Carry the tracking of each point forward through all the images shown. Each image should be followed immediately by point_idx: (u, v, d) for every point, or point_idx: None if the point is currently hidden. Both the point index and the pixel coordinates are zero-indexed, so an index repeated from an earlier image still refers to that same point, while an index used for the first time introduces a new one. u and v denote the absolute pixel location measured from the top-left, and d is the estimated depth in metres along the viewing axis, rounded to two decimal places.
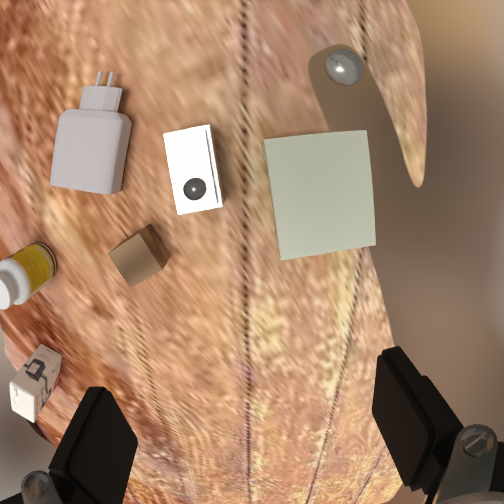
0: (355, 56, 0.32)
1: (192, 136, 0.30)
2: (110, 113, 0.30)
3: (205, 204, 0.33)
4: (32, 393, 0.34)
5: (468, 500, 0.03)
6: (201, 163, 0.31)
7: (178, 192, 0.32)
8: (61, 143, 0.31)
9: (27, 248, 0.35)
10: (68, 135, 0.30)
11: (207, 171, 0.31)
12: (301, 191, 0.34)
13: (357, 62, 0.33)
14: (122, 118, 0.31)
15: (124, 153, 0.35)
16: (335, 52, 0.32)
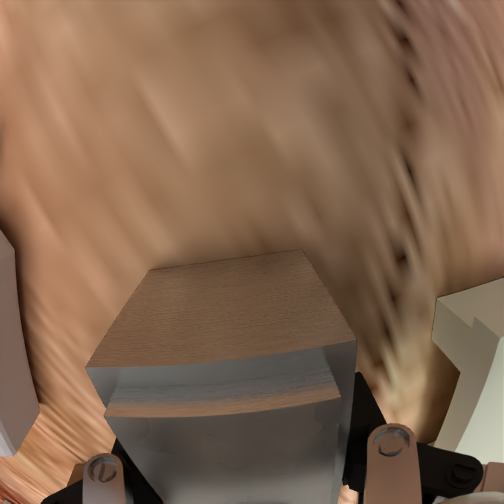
0: None
1: (259, 430, 0.05)
2: None
3: None
4: None
5: (468, 500, 0.03)
6: (294, 497, 0.05)
7: None
8: None
9: None
10: None
11: None
12: None
13: None
14: None
15: (13, 348, 0.09)
16: None
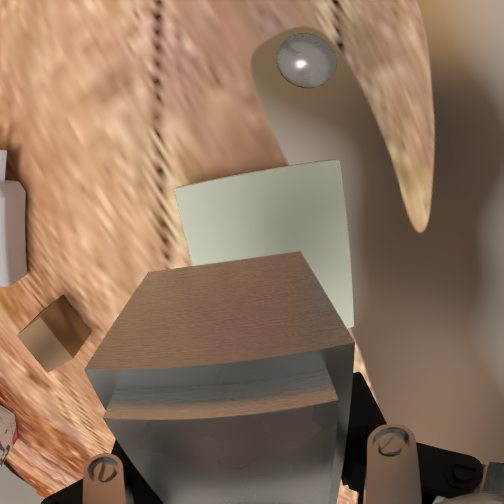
0: (323, 42, 0.21)
1: (257, 432, 0.05)
2: None
3: None
4: None
5: (468, 500, 0.03)
6: (293, 498, 0.05)
7: None
8: None
9: None
10: None
11: None
12: None
13: (326, 51, 0.22)
14: (5, 193, 0.21)
15: (20, 232, 0.24)
16: (291, 39, 0.21)
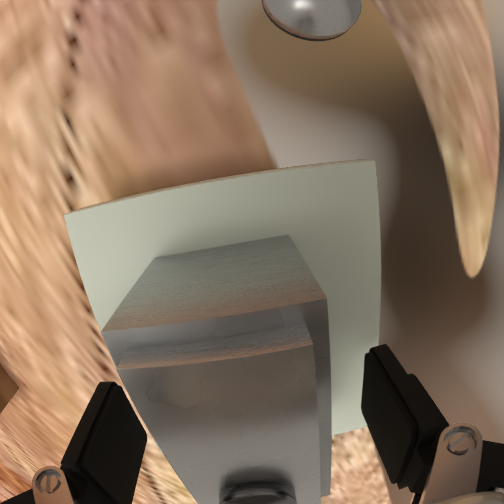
0: None
1: (247, 376, 0.06)
2: None
3: None
4: None
5: (468, 500, 0.03)
6: (285, 453, 0.07)
7: (202, 501, 0.08)
8: None
9: None
10: None
11: (305, 467, 0.07)
12: None
13: None
14: None
15: None
16: None
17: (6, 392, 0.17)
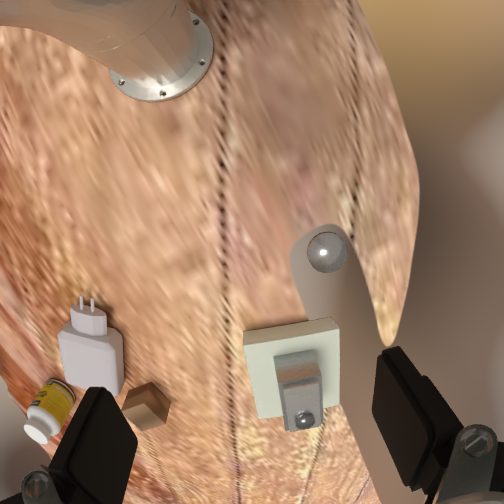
0: (340, 239, 0.37)
1: (307, 388, 0.32)
2: (102, 344, 0.36)
3: (311, 427, 0.34)
4: None
5: (468, 500, 0.03)
6: (312, 404, 0.33)
7: (290, 422, 0.34)
8: (66, 358, 0.36)
9: (49, 390, 0.40)
10: (70, 354, 0.36)
11: (316, 409, 0.33)
12: (275, 379, 0.39)
13: (342, 246, 0.37)
14: (113, 346, 0.37)
15: (121, 361, 0.40)
16: (318, 239, 0.37)
17: (166, 405, 0.43)
